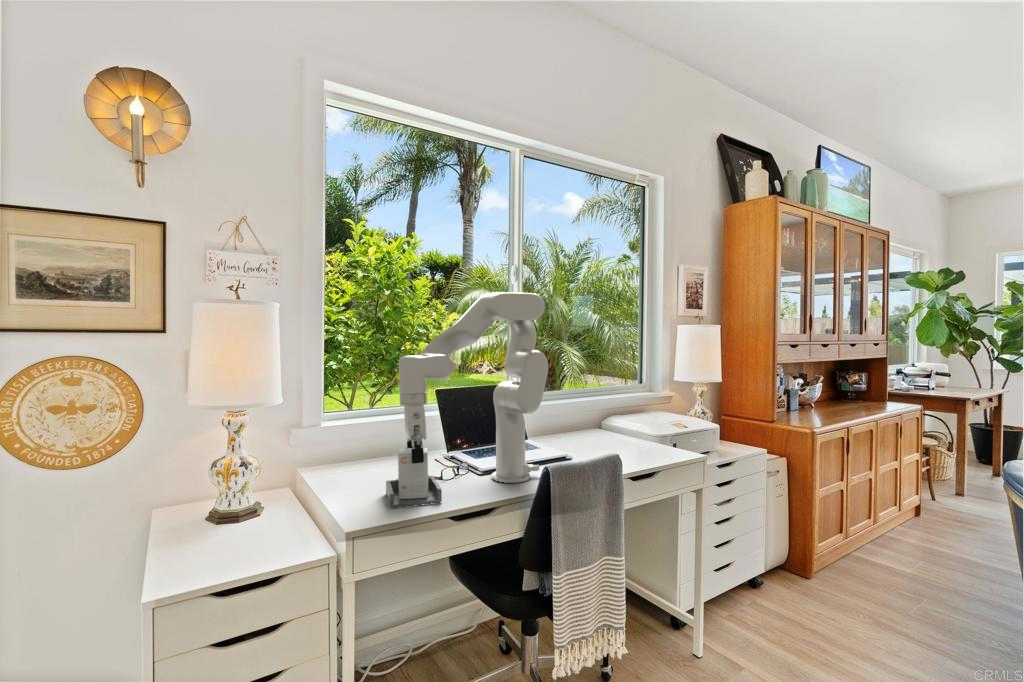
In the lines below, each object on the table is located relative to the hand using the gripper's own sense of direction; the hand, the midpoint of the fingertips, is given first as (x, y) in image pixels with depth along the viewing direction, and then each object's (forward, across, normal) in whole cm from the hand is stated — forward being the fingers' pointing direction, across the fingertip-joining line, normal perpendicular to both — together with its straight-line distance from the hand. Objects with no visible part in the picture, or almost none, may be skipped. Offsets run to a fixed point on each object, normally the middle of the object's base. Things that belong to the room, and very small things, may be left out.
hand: (415, 458), depth 145 cm
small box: (+11, 0, +1) cm, 11 cm away
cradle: (+12, 0, +1) cm, 12 cm away
